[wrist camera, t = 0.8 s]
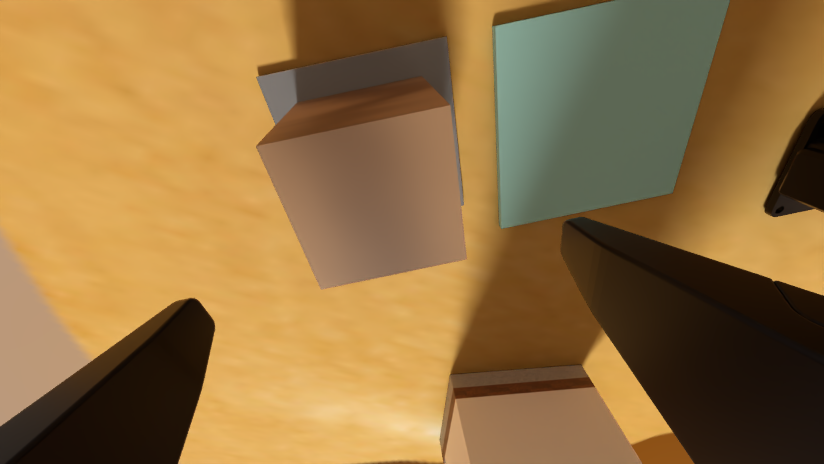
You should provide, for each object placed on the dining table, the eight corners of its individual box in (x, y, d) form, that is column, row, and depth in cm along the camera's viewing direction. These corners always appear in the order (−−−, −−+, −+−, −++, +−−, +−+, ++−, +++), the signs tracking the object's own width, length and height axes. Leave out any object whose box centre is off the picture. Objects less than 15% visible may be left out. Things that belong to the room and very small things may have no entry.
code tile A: (445, 36, 14) (446, 36, 13) (462, 202, 18) (463, 205, 18) (258, 76, 14) (256, 77, 13) (321, 232, 18) (320, 235, 18)
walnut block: (421, 75, 14) (450, 105, 9) (438, 189, 17) (466, 259, 12) (297, 102, 14) (256, 146, 9) (335, 211, 17) (321, 289, 12)
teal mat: (728, -25, 13) (737, -26, 13) (667, 190, 19) (672, 193, 19) (492, 26, 14) (495, 26, 13) (498, 225, 19) (501, 228, 19)
